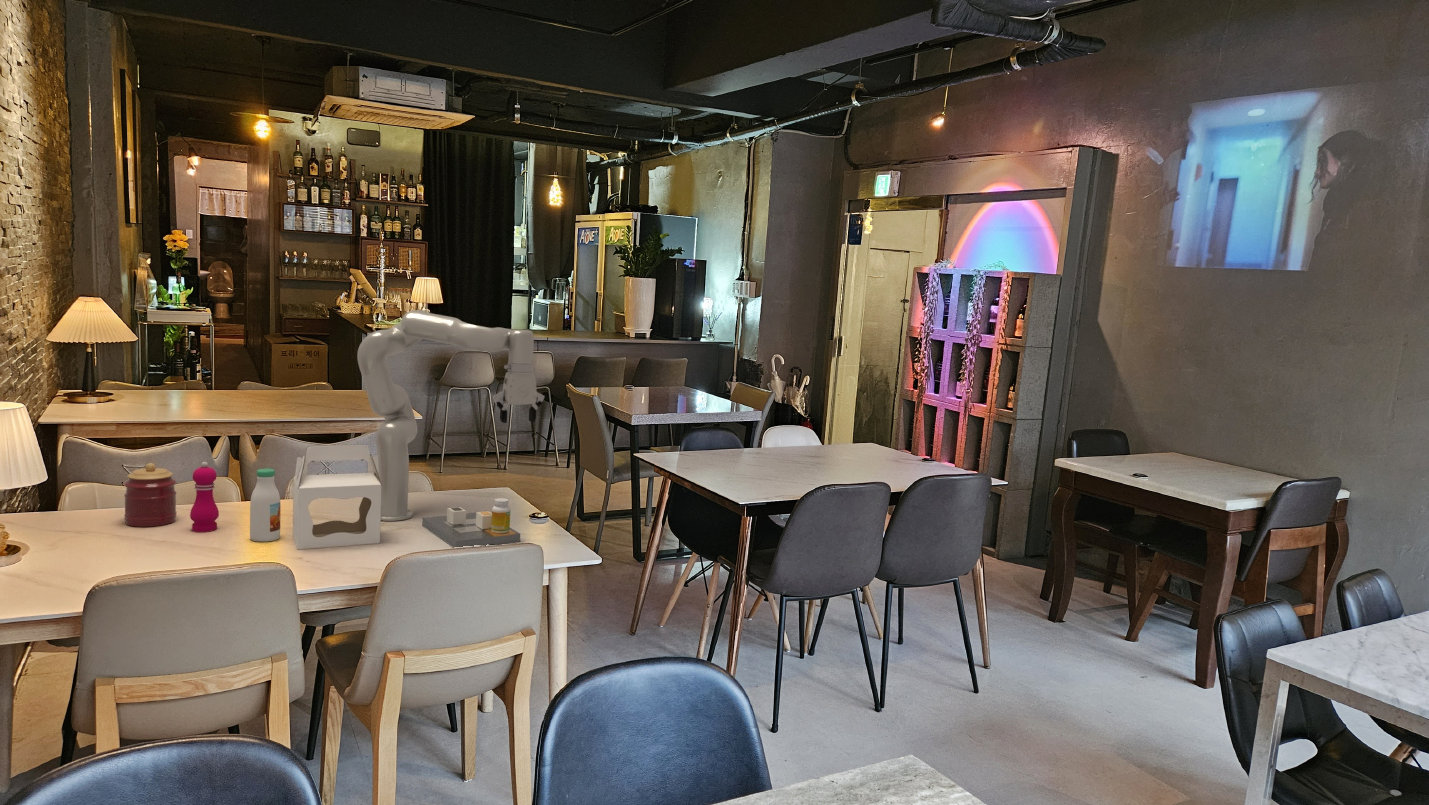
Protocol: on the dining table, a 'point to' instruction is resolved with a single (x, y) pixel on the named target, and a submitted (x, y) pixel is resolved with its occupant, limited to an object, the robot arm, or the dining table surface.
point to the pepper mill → (204, 500)
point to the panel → (467, 532)
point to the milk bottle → (265, 508)
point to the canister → (150, 497)
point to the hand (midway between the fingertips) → (517, 421)
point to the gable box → (337, 488)
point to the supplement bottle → (500, 516)
